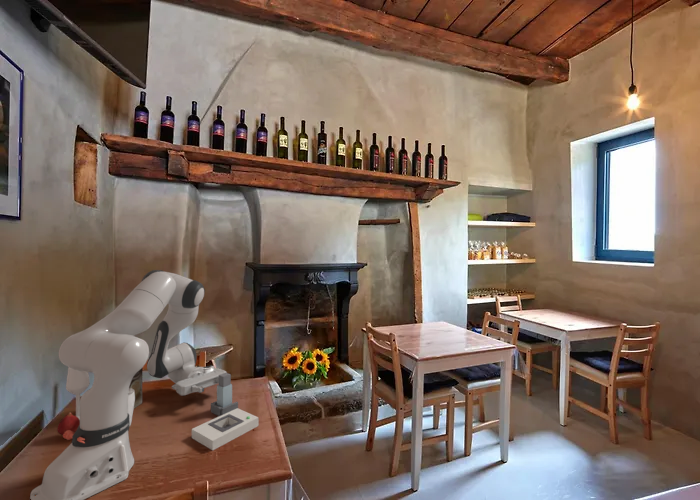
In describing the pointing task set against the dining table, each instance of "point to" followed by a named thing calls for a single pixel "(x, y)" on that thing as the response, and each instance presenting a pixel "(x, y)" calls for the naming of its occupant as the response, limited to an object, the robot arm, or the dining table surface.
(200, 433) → the block
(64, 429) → the onion
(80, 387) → the champagne flute
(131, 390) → the cup
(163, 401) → the dining table surface
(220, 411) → the holster
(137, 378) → the coffee box
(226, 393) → the plug
